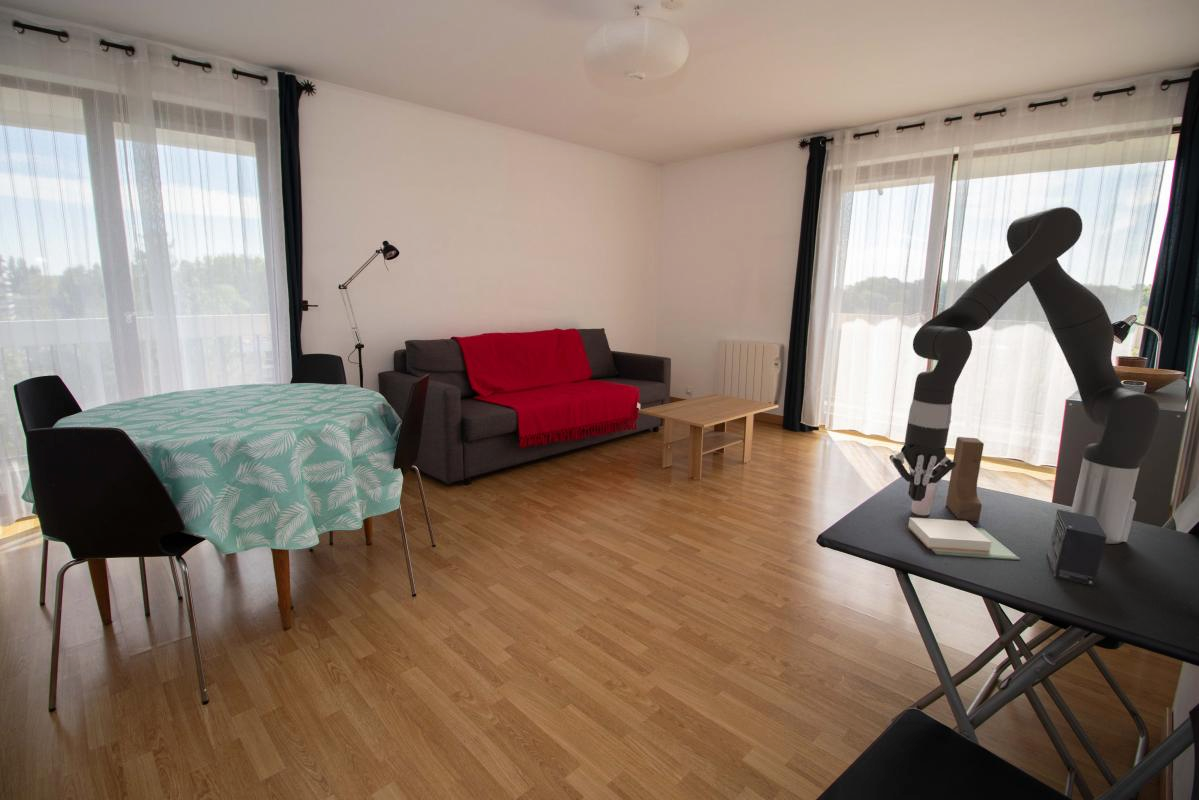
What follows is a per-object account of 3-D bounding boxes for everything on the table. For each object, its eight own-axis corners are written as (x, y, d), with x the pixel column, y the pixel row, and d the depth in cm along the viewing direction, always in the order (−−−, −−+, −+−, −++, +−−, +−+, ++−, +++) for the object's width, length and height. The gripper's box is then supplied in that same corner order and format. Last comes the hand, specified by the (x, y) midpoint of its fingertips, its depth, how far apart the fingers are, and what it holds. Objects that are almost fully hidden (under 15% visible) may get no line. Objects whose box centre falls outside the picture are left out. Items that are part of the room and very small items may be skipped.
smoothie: (910, 504, 140) (918, 451, 137) (938, 512, 136) (947, 457, 132) (901, 511, 136) (909, 457, 132) (930, 520, 131) (939, 463, 128)
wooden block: (979, 522, 131) (992, 448, 127) (957, 519, 132) (970, 447, 128) (965, 507, 139) (977, 437, 135) (945, 504, 140) (956, 436, 136)
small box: (1097, 588, 103) (1109, 536, 101) (1052, 578, 107) (1063, 527, 104) (1086, 564, 112) (1097, 515, 110) (1045, 555, 116) (1055, 508, 113)
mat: (982, 529, 127) (982, 528, 127) (1019, 560, 113) (1020, 558, 113) (907, 524, 128) (908, 523, 128) (936, 554, 115) (936, 553, 115)
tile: (908, 527, 127) (964, 530, 125) (928, 548, 117) (989, 552, 116) (909, 517, 126) (966, 521, 125) (929, 537, 116) (991, 541, 115)
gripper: (953, 419, 119) (939, 495, 123) (888, 415, 120) (877, 490, 124) (971, 428, 112) (956, 509, 116) (902, 424, 113) (890, 504, 117)
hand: (915, 499), depth 120 cm, fingers closed
